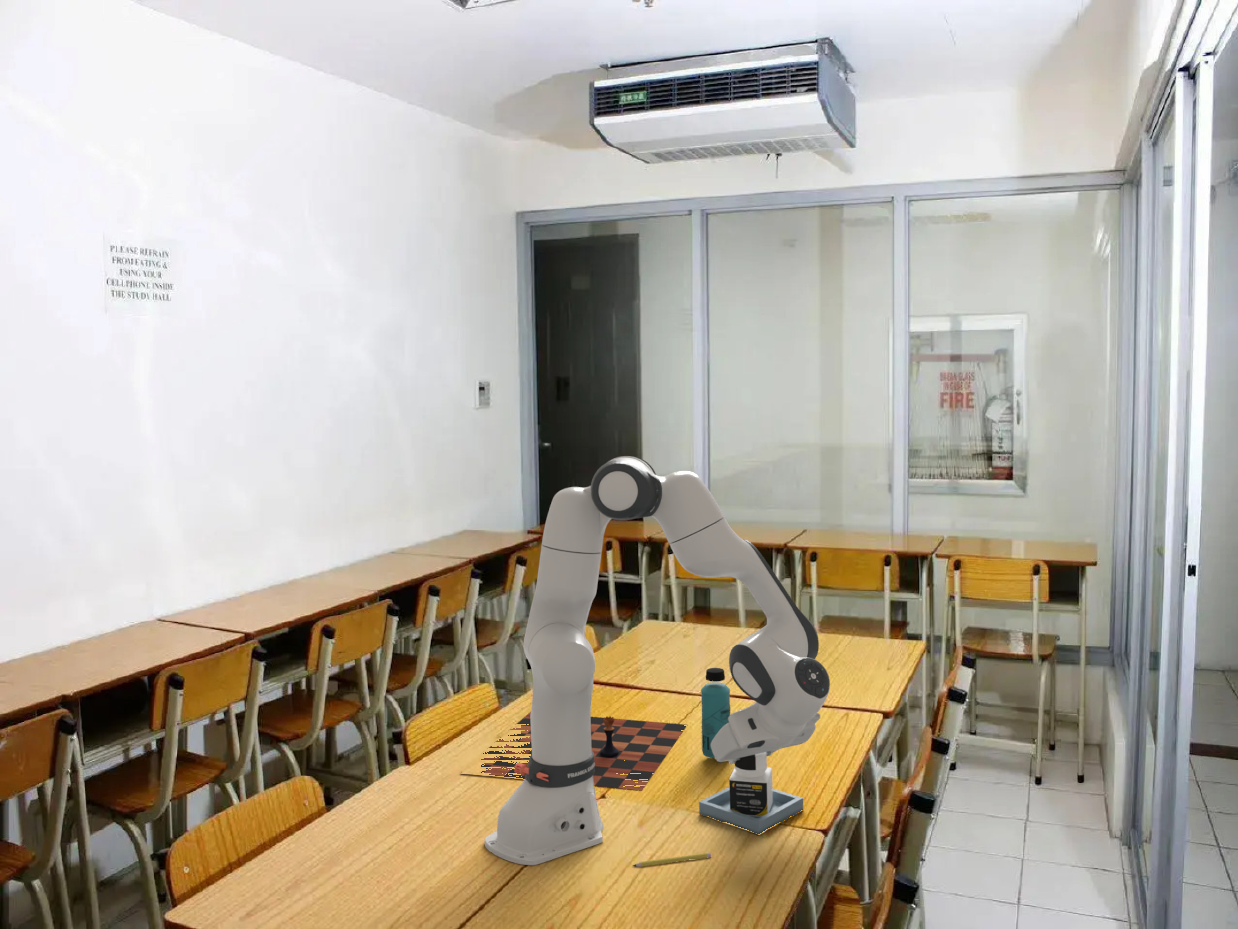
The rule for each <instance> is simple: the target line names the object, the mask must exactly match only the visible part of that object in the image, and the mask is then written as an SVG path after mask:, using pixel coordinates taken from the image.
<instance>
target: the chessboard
mask: <svg viewBox="0 0 1238 929" xmlns="http://www.w3.org/2000/svg"><path fill="white" fill-rule="evenodd" d="M530 714H531V711H529V712H528V714H526V715H525V716H524V717H523V718H521V719H520V720H519V721H518V722H517V723H516V724H526V725H521V728H516V729H515V728H513V729H511V728H510V729H509V730H525V731H521V734H517V735H515V734H514V735H510V736H530V737H529V738H528V737H526V738H522V739H521V738H520V739H519V740H518V739H516V741H515V740H514V739H513V741H511V740H510V742H530V744H528V743H527V745H526V744H524V746H522V745H521V747H520V746H518V747H514V746H509V745H507V744H506V746H504V748H532V743H531V718H530ZM527 724H529V725H527ZM684 725H686V724H683V723H672V722H669V723H668V722H658V721H647V720H635V719H624V718H623V719H622V718H615V717H614V716H609V717H608V716H605V717H603V716H602V717H601V716H591V748H592V751H593V753H594V762H595V773H594V775H593V781H594V786H597V787H596V788H604V787H607V788H606V789H615V788H616V789H617V790H626V789H627V790H629V791H638V790H639V791H638V792H641V791H644V789H645V787H646V786H647V784H648V782H650V780H651V779H652V778H653V775H654V774H655V773H656V772H657V770H658V768H659V767H660V766H661V764H662V763H663V761H664V760H665V759H666V757H667V756H668V754H669V752H671V750H672V749H673V747H674V745H675V744H676V742H677V741H678V740H679V738H680V737H681V736H682V734H683V732H684V731H685V729H686V728H687V727H686V726H684ZM527 730H528V731H527ZM681 730H684V731H681ZM508 736H509V735H508ZM679 736H680V737H679ZM498 739H499V738H498ZM498 739H497V740H496V741H495V742H509V741H504V740H503V739H502V740H501V739H499V741H498ZM488 748H503V747H502V746H501V747H499V746H497V747H492V746H491V745H490V746H489V747H488ZM502 751H503V750H502ZM505 751H506V750H505ZM523 751H524V752H525V753H524V752H522V751H521V753H522V754H532V750H531V751H530V750H526V751H525V750H523ZM482 753H483V752H482ZM487 753H488V754H518V753H519V752H518V753H515V752H512V751H509V750H508V751H506V753H505V752H504V753H502V752H499V751H495V752H494V751H489V752H487ZM487 753H486V752H485V754H487ZM521 753H519V754H521ZM483 754H484V753H483ZM496 757H497V756H496ZM499 757H500V758H499ZM499 757H497V758H495V757H494V758H484V759H481V760H529V759H530V758H520V757H517V758H516V757H515V756H513V757H514V758H512V757H511V758H509V757H503V756H499ZM529 757H530V756H529ZM515 758H516V759H515ZM624 760H625V761H624ZM494 762H495V761H494ZM511 762H512V761H511ZM527 762H528V761H527ZM513 763H514V762H513ZM513 763H508V762H502V761H496V762H495V763H484V764H485V765H484V764H482V765H484V766H482V765H481V767H501V768H492V769H491V768H489V769H491V770H489V769H488V768H486V769H488V770H486V771H482V772H484V773H491V774H489V775H495V776H504V777H516V776H519V777H516V778H523V779H525V775H524V776H522V775H513V774H509V775H512V776H509V775H508V773H516V772H514V771H515V770H514V769H512V768H507V767H515V766H516V763H517V762H516V763H515V764H513ZM522 764H525V765H527V766H528V763H522ZM503 767H504V768H506V769H504V768H503ZM502 768H503V769H502ZM508 769H509V770H508ZM510 769H512V770H510ZM482 772H481V773H482ZM502 773H503V774H502ZM506 773H507V774H506ZM616 773H618V774H616ZM623 773H624V774H628V775H620V774H623ZM630 773H641V774H630ZM652 773H654V774H652ZM505 774H506V775H505ZM521 776H522V777H521ZM625 779H631V780H625ZM639 779H648V780H639ZM633 780H638V781H633ZM642 781H648V782H642ZM635 782H638V783H635ZM625 785H634V786H636V785H646V786H640V787H634V786H625ZM623 786H625V787H623ZM643 788H644V789H643ZM627 790H626V791H627Z"/></svg>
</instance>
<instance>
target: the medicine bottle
mask: <svg viewBox="0 0 1238 929" xmlns="http://www.w3.org/2000/svg"><path fill="white" fill-rule="evenodd" d="M767 757H768V756H767V755H766V752H764V753H759V754H755V755H750V756H746V757H741V758H740V761H739V762H738V763H736V764H734V768H733V770H732V772H731V775H730V777H729V779H728V780H729V781H728V783H729V786H728V787H729V789H730V810H733V811H736V812H739V813H742V814H745V815H748V816H753V817H762V816H764V815H766V814H768V813H769V812H770V809H771V806H772V803H773V789H774V788H773V768H772V767H768V766H767V764H768V760H767ZM772 788H773V789H772Z"/></svg>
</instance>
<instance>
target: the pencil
mask: <svg viewBox="0 0 1238 929" xmlns="http://www.w3.org/2000/svg"><path fill="white" fill-rule="evenodd" d="M707 857H711V858H712V854H711V852H705V853H697V854H690V855H681V856H674V857H667V858H666V857H665V858H660V859H652V860H643V861H639V862H637V863H634V864H633V865H632V867H635V868H636V867H637V868H638V867H639V868H643V866H645V867H650V866H649V865H652V866H658V865H659V864H660V865H666V864H665V863H667V864H672V863H671V862H675V863H677V862H676V861H682V862H685V861H684V860H689V859H698V860H702V859H701V858H705V859H708V858H707ZM660 865H659V866H660Z"/></svg>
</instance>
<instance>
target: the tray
mask: <svg viewBox="0 0 1238 929" xmlns="http://www.w3.org/2000/svg"><path fill="white" fill-rule="evenodd" d="M772 789H773V803H772V806H771V809H770V812H769V813H768V814H766V815H764V816H762V817H753V816H748V815H745V814H742V813H739V812H736V811H733V810H730V789H729V786H728V787H726V788H724V789H722V790H721V791H718V792H716V793H714V794H712V795H709V796H707V797H706V798H704V799H702V800H700V801H699V802H698V808H699V810H698V813H699V814H702V815H704V816H703V817H705V816H709V817H711V818H714V819H716V820H719V821H721V822H720V823H722V822H727V823H730V824H733V825H735V826H738V827H741V828H744V829H747V830H749V831H752V832H754V833H757V834H760V833H762V832H763V831H765V830H766V829H768V828H770V827H772V826H774V825H775V824H777V823H779V822H782V823H784V822H785V821H784V820H786V819H787V818H789V817H790V816H793V815H795V814H796V813H798V812H800V811H801V810H803V811H804V798H803V797H801V796H798V795H795V794H791V793H788V792H785V791H783V790H779V789H776V788H773V787H772ZM800 813H801V812H800ZM798 814H799V813H798ZM702 815H701V816H702ZM796 815H797V814H796ZM796 815H795V816H796ZM793 817H794V816H793ZM711 818H710V819H711ZM714 819H713V820H714ZM789 819H790V818H789ZM716 820H715V821H716ZM719 821H718V822H719ZM783 821H784V822H783ZM786 821H787V820H786Z"/></svg>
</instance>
